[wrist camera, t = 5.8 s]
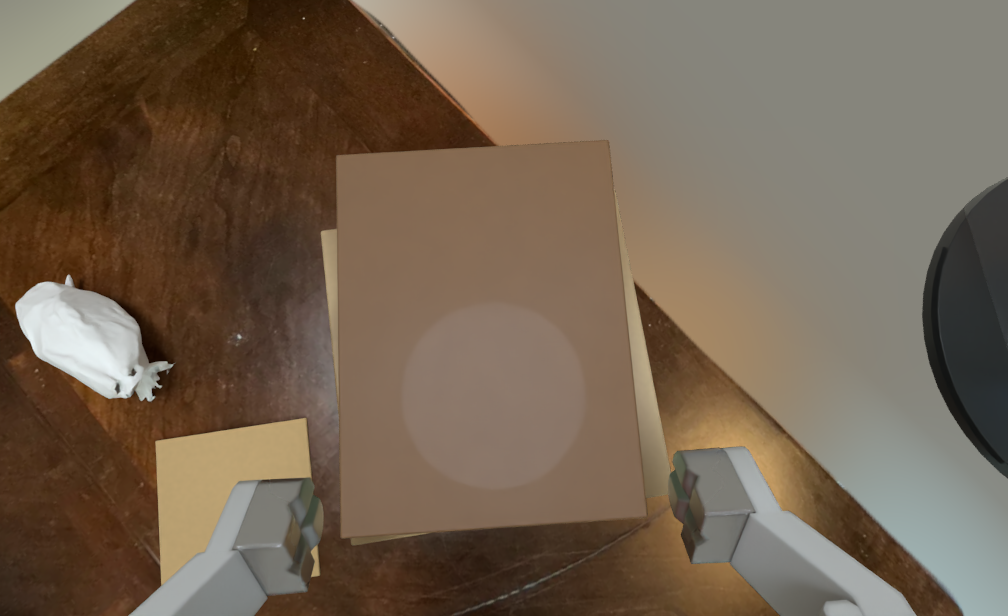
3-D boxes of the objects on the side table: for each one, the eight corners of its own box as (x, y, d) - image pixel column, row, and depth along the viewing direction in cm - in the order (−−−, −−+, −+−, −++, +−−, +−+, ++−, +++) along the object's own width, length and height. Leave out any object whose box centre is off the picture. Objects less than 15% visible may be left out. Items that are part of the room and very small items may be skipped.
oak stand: (566, 276, 37) (615, 188, 21) (596, 449, 35) (675, 494, 19) (397, 301, 37) (319, 230, 21) (419, 477, 35) (350, 546, 19)
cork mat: (306, 417, 35) (305, 417, 35) (320, 574, 34) (319, 575, 33) (157, 440, 35) (155, 441, 35) (163, 600, 33) (161, 601, 33)
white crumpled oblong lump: (201, 332, 37) (59, 265, 36) (151, 351, 31) (-27, 270, 29) (170, 392, 38) (27, 328, 36) (113, 424, 31) (-66, 348, 29)
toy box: (562, 248, 21) (609, 138, 12) (580, 461, 19) (648, 518, 10) (406, 258, 21) (335, 154, 12) (413, 473, 19) (339, 539, 10)
